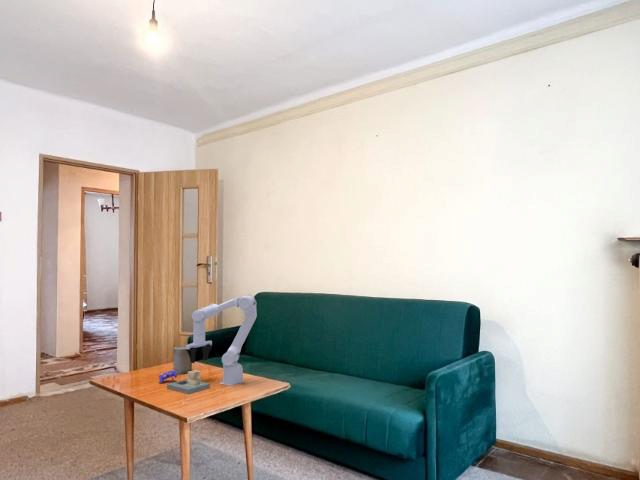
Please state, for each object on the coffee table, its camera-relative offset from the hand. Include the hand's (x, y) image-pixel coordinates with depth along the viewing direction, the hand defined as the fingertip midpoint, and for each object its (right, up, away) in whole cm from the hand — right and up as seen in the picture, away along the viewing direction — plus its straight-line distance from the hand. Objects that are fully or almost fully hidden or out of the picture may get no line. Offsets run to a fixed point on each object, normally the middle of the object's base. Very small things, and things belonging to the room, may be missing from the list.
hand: (199, 361), depth 211 cm
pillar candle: (-15, -12, +21) cm, 29 cm away
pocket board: (-2, -10, -12) cm, 15 cm away
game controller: (-16, -11, +1) cm, 20 cm away
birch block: (+1, -7, -14) cm, 15 cm away
